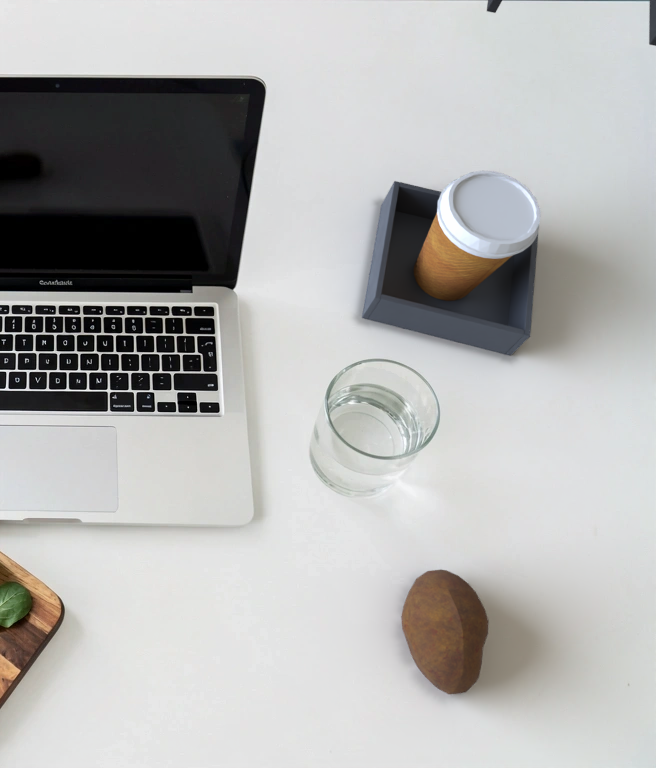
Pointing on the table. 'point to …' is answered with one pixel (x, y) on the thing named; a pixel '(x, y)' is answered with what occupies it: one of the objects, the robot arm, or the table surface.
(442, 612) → the potato
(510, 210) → the disposable coffee cup
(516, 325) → the bin
